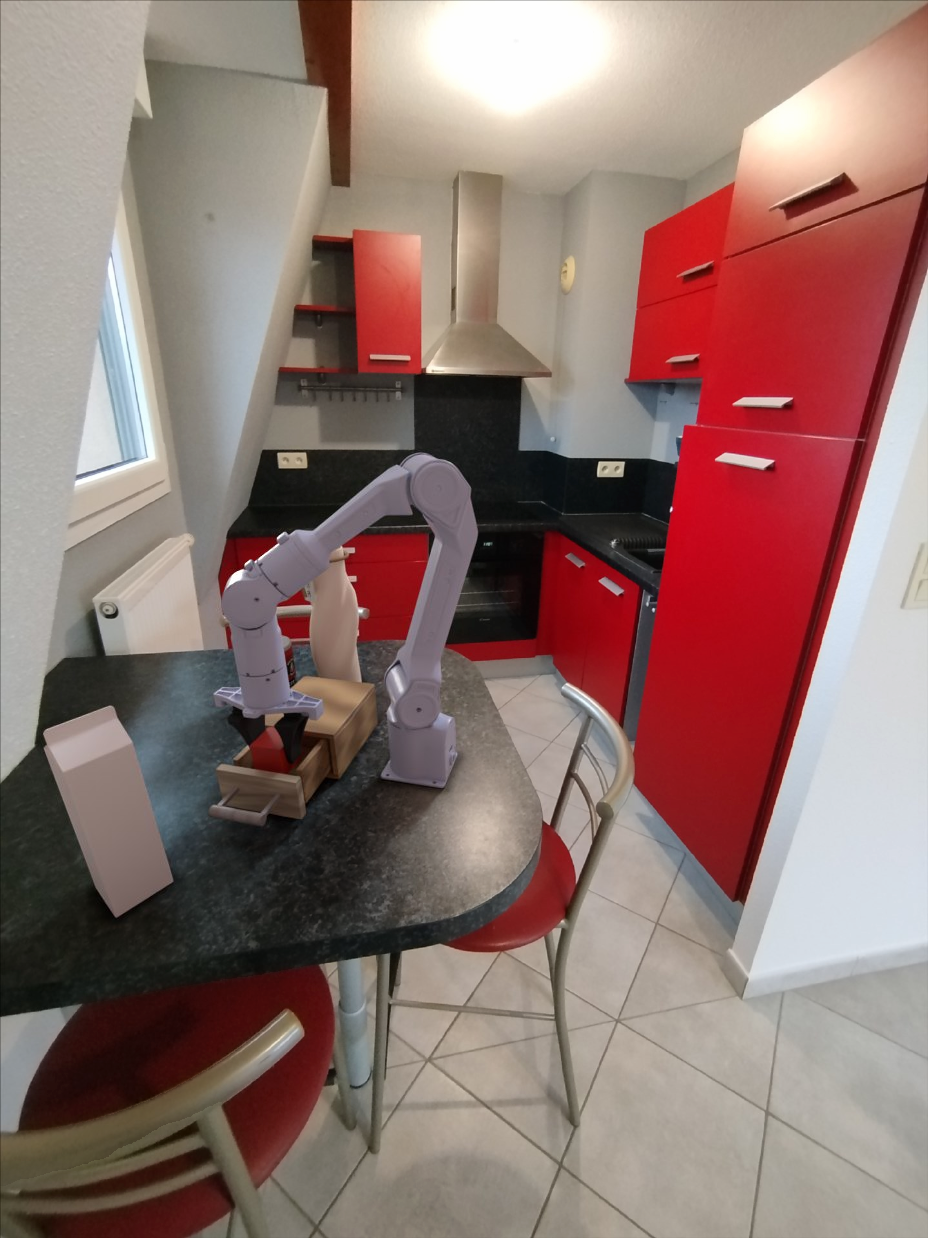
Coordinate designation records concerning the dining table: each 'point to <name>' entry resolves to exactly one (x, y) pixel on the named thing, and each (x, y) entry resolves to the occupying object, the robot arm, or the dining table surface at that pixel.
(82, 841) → the milk
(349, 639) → the water bottle
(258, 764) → the block
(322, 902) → the dining table surface
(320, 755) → the drawer
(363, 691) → the cabinet
